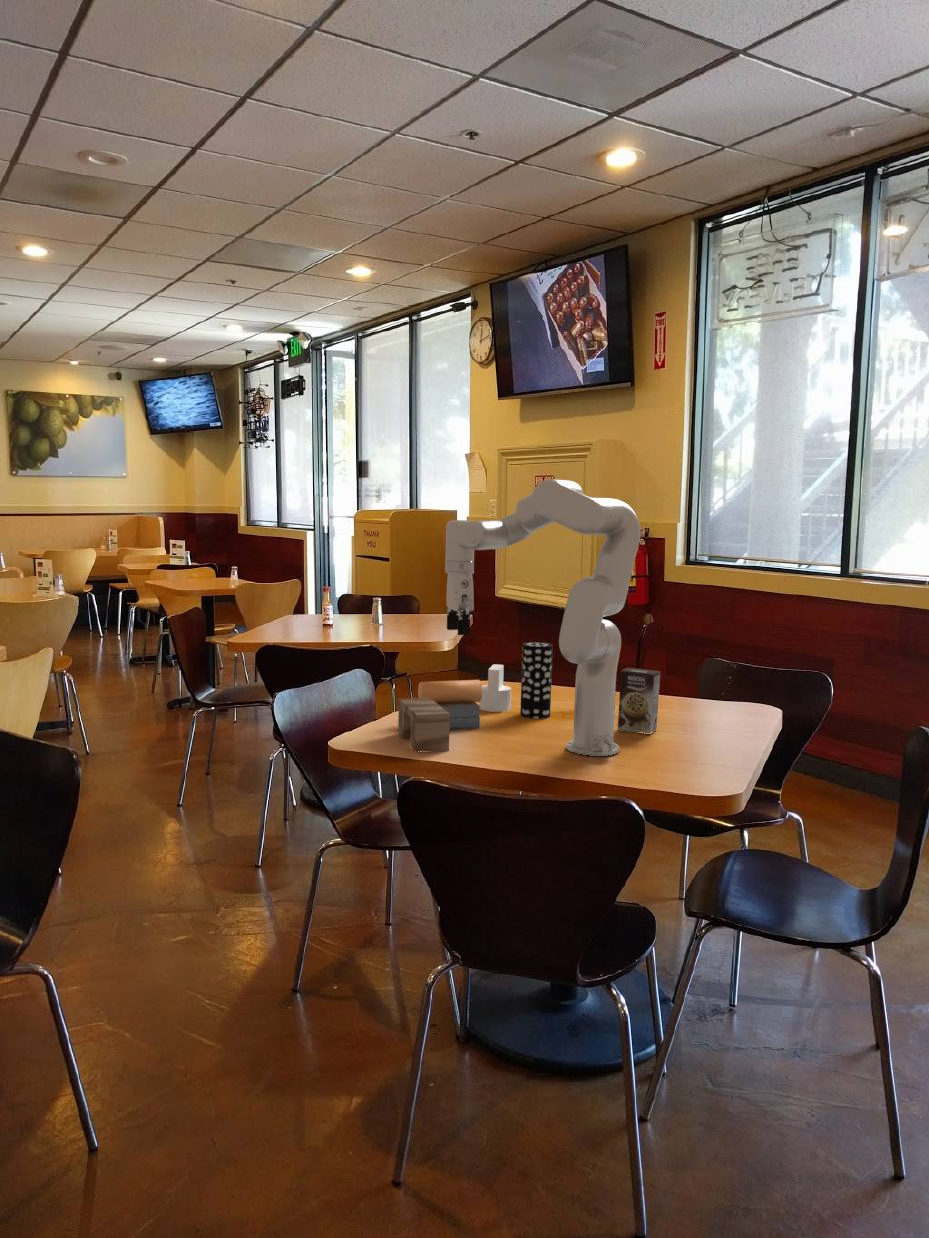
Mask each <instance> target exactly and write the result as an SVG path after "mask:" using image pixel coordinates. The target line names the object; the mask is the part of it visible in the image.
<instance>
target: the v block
mask: <svg viewBox="0 0 929 1238" xmlns="http://www.w3.org/2000/svg"><path fill="white" fill-rule="evenodd" d="M437 704H438V705H440V706H441V707H442V708H443V709H445V710H446V711H447V712H449V713H450V723H449V731H456V730H457V731H458V730H476V729H480V727H481V726H480V725H481V724H480V723H481V717H480V710H481V709H480V705H479V704H478V702H474V701H463V702H441V703H437Z"/></svg>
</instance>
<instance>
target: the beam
mask: <svg viewBox="0 0 929 1238" xmlns="http://www.w3.org/2000/svg"><path fill="white" fill-rule="evenodd" d="M397 722H398V727H397V728H398V730H397V731H398V733H397V734H398V736H400V737H401V738H402V740H409V742H410V743H409V745H410V746H411V747H412V748H411V747H410V748H411V749H412V750H413V751H414V752H415V751H416V752H418V751H419V752H418V753H424V752H423V751H435V752H447V751H450V730H449V723H450V713H449V712H447V711H446V710H445V709H443V708H442V707H441V706H440V705H438V704H437V703H436V702H435V701H433V700H432V699H431V698H418V697H411V698H398V721H397ZM420 751H422V752H420ZM416 752H415V753H416Z"/></svg>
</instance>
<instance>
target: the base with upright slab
mask: <svg viewBox="0 0 929 1238" xmlns="http://www.w3.org/2000/svg"><path fill="white" fill-rule="evenodd" d="M504 667H505V665H504V664H498V663H497V664H492V665H491V666H490V667H489V668H488V670H487V672H488V673H487V675H488V676H487V684H483V685H481V686H482V699H481V701H480V702H479V704H478V705H480V710H481V711H484V712H485V711H486V712H492V713H494V712H495V713H497V712H500V713H501V712H509V711H510V710H511V709H512V708H511V706H512V703H511V702H512V686H511V687H510V686H509V685H504V670H505V669H504Z"/></svg>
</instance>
